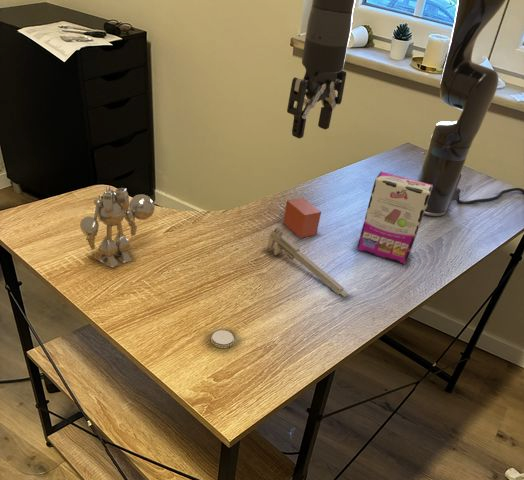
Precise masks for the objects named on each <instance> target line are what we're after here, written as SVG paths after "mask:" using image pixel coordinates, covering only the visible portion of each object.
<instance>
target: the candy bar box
mask: <svg viewBox="0 0 524 480" xmlns="http://www.w3.org/2000/svg"><path fill="white" fill-rule="evenodd" d="M432 187H433V185H431V184H427V183H423V182H420V181H417V179H411V178H408V177H404V176H400V175H396V174H393V173H388V172H385V171H380V172H379V174H378V175H377V176H376V177H375V179H374V183H373V186H372V190H371V194H370V197H369V202H368V205H367V210H366V213H365V217H364V220H363V224H362V228H361V231H360V232H361V233H360V236H359V239H358V242H357V245H356V246H357V247H356V250H357V251H360V252H364V253H365V254H370V255H373V256H376V257H379V258H383V259H386V260H389V261H393V262H397V263H399V264H404V265H406V264H407V261H408V260H409V257H410V254H411V252H412V249H413V246H414V243H415V240H416V237H417V234H418V232H419V229H420V227H421V222H422V221H423V217H424V211H425V208H426V205H427V202H428V199H429V196H430V193H431V190H432Z"/></svg>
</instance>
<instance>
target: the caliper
mask: <svg viewBox="0 0 524 480" xmlns="http://www.w3.org/2000/svg"><path fill="white" fill-rule="evenodd" d="M283 233H284V229H282V230H281V227H280V226H276V227H275V229H272V230H271V233H270V234H269V237H268V242H267V252H271V251H272V250H273V249H274V251H273V256H277V255H278V254H280V253H281V252H282V251H283V253H284V254H285V255H286V256H287V257H289V258H290V260H296V261H297V262H299V263H300V264H301V265H302V266H303V267H305V268H306V269H307V270H308V271H309V272H310V273H312V274H313V275H314V276H315V277H316V278H317V279H319V280H320V281H321V282H322V283H324V285H326V286H327V287H328V288H329V289H330V290H331V291H333V292H334V293H335V294H337V295H338V296H339V295H341V296H342V297H343V298H345V297H347V296H348V292H346V291H345V288H344V286H342V285H341V284H340V283H339V282H338V281H336V279H334V278H333V277H332V276H330V275H329V274H328V273H327V272H326V271H324V269H322V267H320V266H319V265H318V264H316V263H315V262H314V261H313V260H311V259H310V258H309V257H308V256H307V255H305V254H304V253H303V252H301V250H300V248H299V246H297V245H296V244H295V243H294V242H292V241H291V240H290V239H289V238H288V237H287V236H286V235H283ZM275 244H277V245H276V247H275V248H274V246H275Z"/></svg>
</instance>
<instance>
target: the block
mask: <svg viewBox="0 0 524 480" xmlns="http://www.w3.org/2000/svg"><path fill="white" fill-rule="evenodd" d="M321 216H322V211H321V210H319V209H318V208H317V207H315V205H313V203H311V202H309V201H308V200H307V199H306V198H304V197H299V198H293V199H288V200H286V203H285V211H284V216H283V224H284V225H285V226H286V227H287V228H288V229H289V230H291V231H292V232H293V233H294V234H295V235H296V236H297V237H298V238H300V239H303V238H308V237H313V236H316V235H317V234H318V229H319V223H320V219H321Z"/></svg>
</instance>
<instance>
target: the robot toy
mask: <svg viewBox="0 0 524 480" xmlns="http://www.w3.org/2000/svg"><path fill="white" fill-rule="evenodd" d="M93 204H94V205H95V210H94V215H93V216H90V215H89V216H85V217H83V218H82V219H81V221H80V223H79V228H80V231H81V233H82V234H83V235H84V236H85V237H86V238H85V241H87V243H88V245H89V248H90V250H91V251H94V250H96V251H95V252H94V256H93V258H94V259H95V260H97V261H98V262H99V263H100V264H101V263H102V264H104V265H106V266H108V267H110V268H115V267H117V266H120V265H121V263H122V264H126V263H130V262H131V261H132V260H133V259H132V257H131V256H130V254H129V252H128V251H129V250H130V249H131V242H130V240H129V238H128V237H126V235H125V234H124V230H123V225H122V222H123V220H125V221H126V222H127V225H128V226H129V227H130V237H131V238H132V237H135V236H136V235H137V234H136V233H137V229H138V227H137V226H138V225H137V224H136V219H137V220H139V221H146V220H148V219H150V218H151V217H152V216H153V215H154V214H155V210H156V209H155V208H156V206H155V202H154V200H153V199H152V198H151V197H150V196H149V195H147V194H143V193H142V194H136V195H134V196H133V197H131V199H130V198H129V193H128V191H127V188H125V187H119V188H116V190H113V189H111V187H110V185H109V186H108V187H107V186H105V191H104V192H103V194H102V195H98V198H94V200H93ZM98 221H100V222H101V223H102V224H104V225H105V226H106V233H105V234H106V235H105V236H104V237H103V240H102V241H101V243H100V245H98V248H97V247H96V245H95V244H96V243H95V241H96V237H97V236H98V232H99V227H100V223H99V222H98ZM113 227H116V229H117V230H116V231H117V233H116V235H115V237H114V239H112V237H113V236H112V234H113ZM115 256H116V257H118V260H119V261H118V260H117V259H116V258H115Z"/></svg>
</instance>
